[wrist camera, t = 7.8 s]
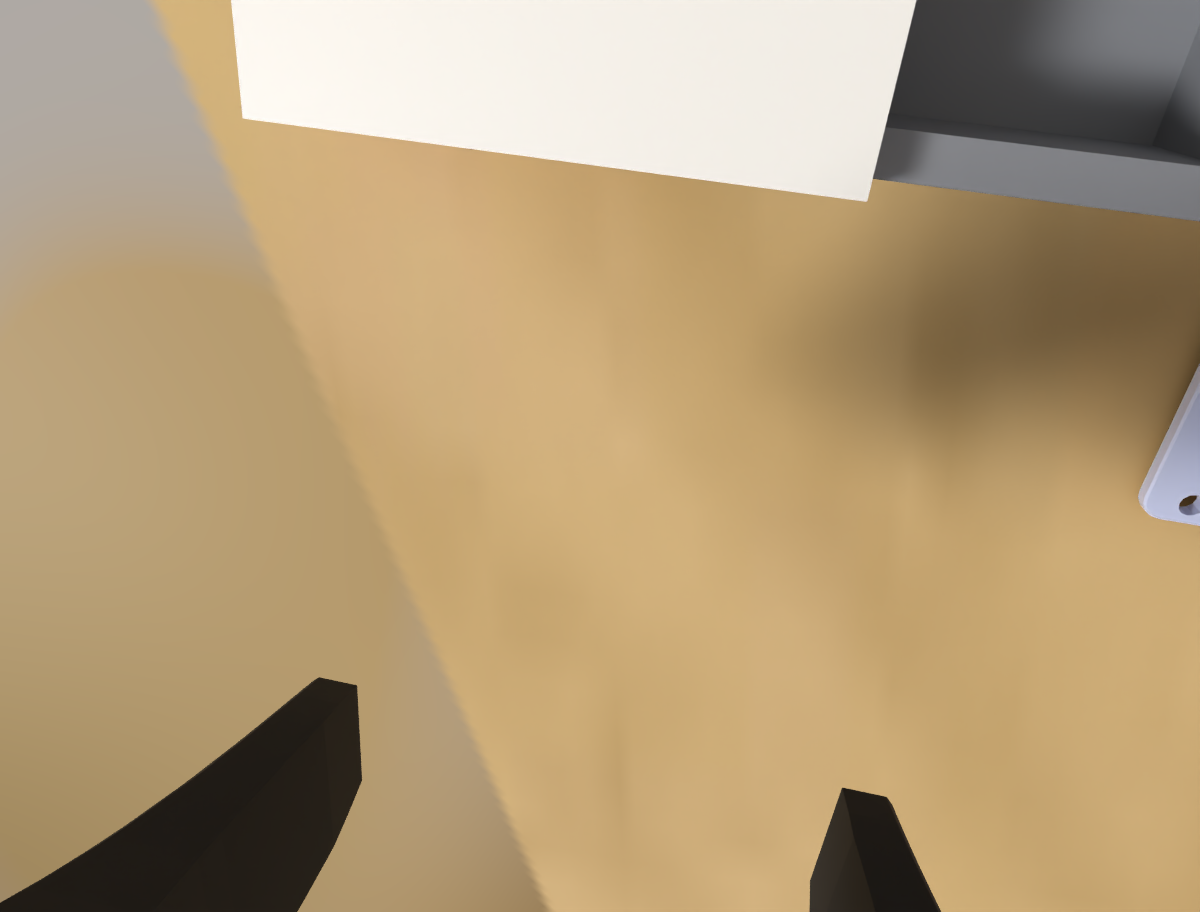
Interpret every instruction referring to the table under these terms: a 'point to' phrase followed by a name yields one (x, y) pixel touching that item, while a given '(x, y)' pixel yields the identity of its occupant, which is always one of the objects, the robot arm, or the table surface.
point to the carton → (1051, 102)
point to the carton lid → (594, 80)
